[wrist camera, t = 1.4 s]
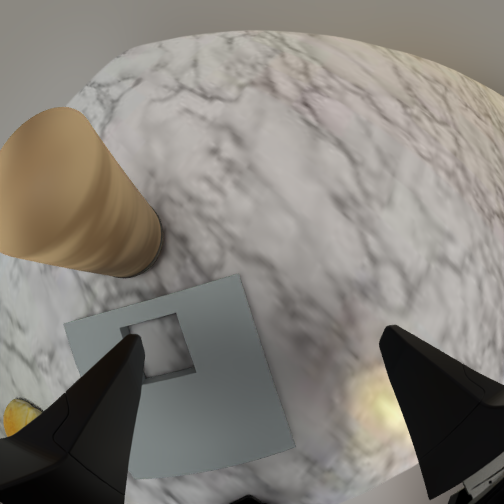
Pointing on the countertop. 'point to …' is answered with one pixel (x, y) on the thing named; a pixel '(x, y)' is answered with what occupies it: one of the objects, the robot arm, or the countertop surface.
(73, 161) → the oak leg
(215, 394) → the slate board
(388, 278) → the countertop surface
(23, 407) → the bread roll
